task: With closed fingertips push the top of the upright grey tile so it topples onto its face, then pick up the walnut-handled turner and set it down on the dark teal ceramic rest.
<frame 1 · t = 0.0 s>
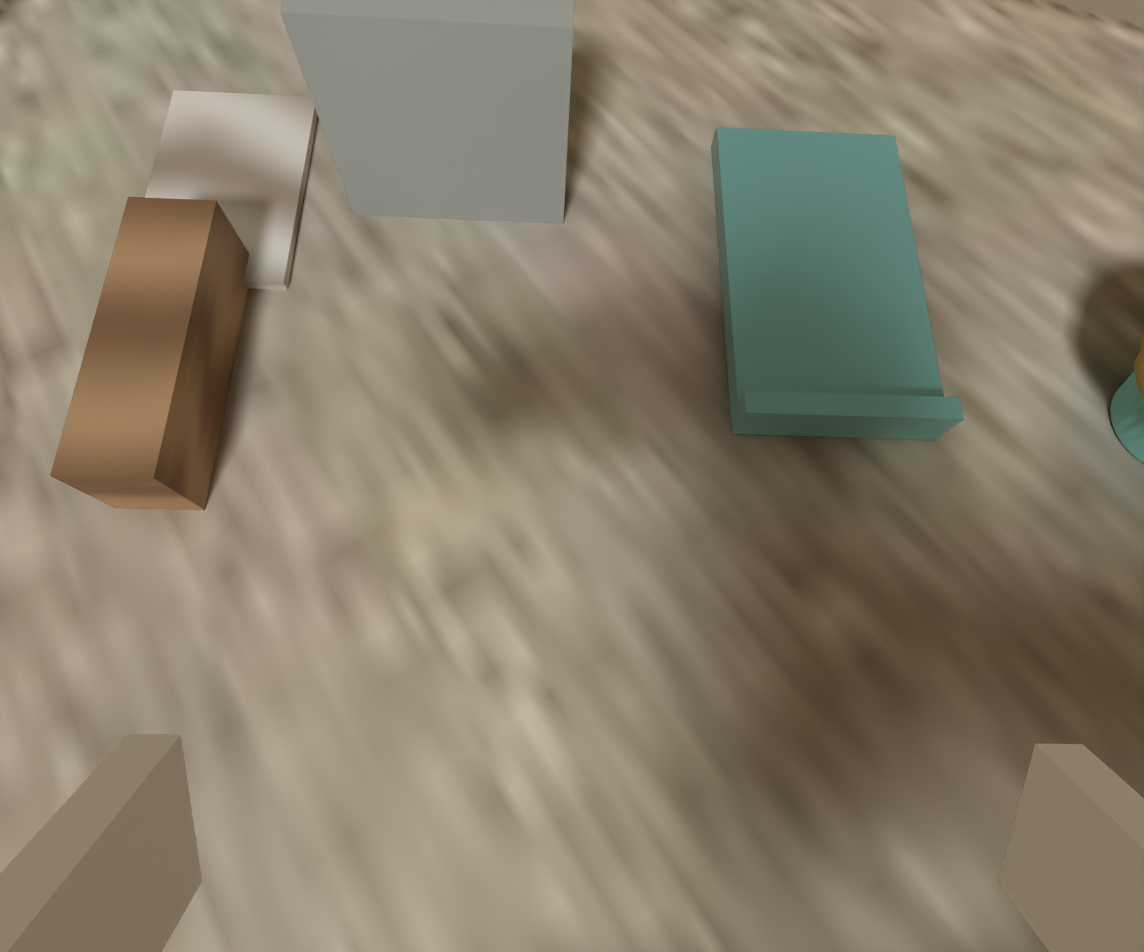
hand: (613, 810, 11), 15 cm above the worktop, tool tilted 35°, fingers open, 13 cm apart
rest: (814, 281, 33), on the worktop
tile: (461, 199, 33), on the worktop
turner: (190, 376, 30), on the worktop
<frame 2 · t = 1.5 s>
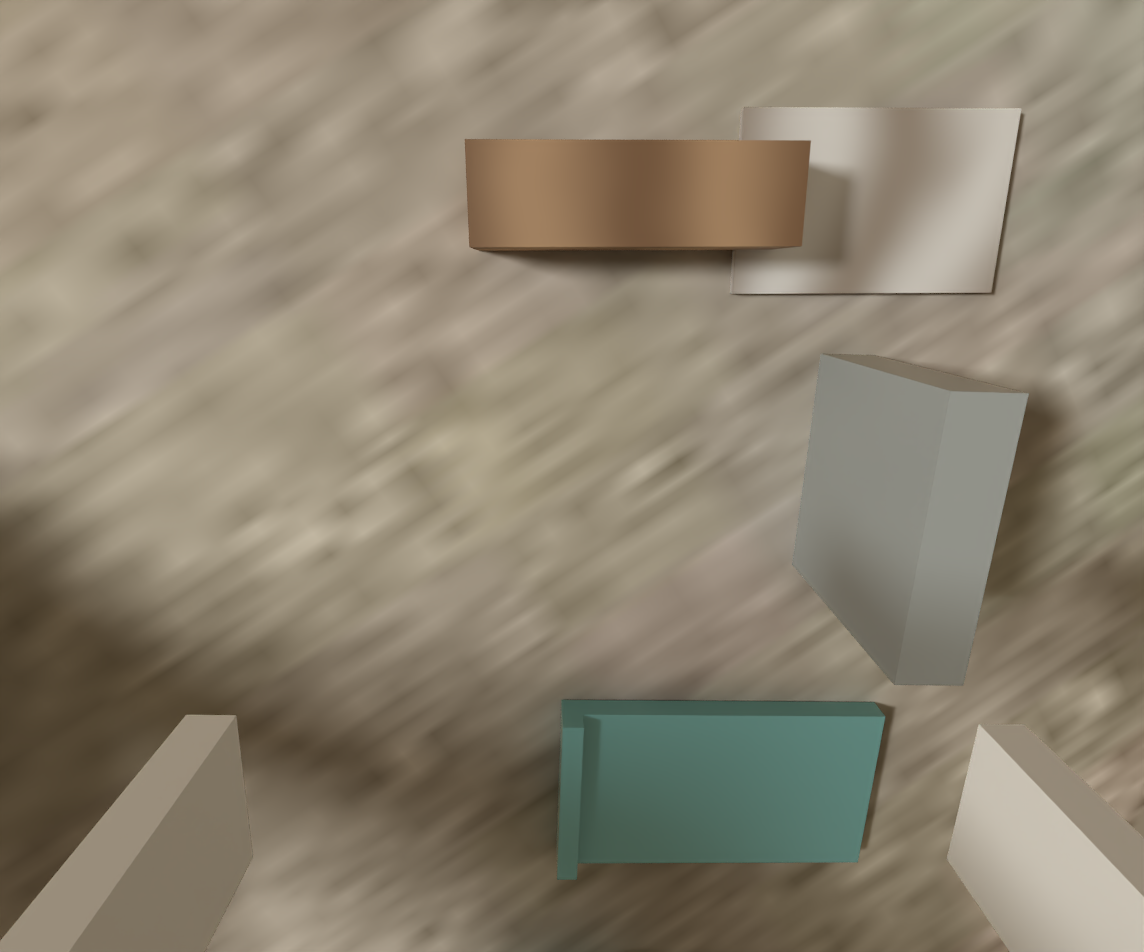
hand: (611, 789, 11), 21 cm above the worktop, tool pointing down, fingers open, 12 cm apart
rest: (711, 775, 36), on the worktop
tile: (831, 464, 31), on the worktop
turner: (625, 205, 28), on the worktop
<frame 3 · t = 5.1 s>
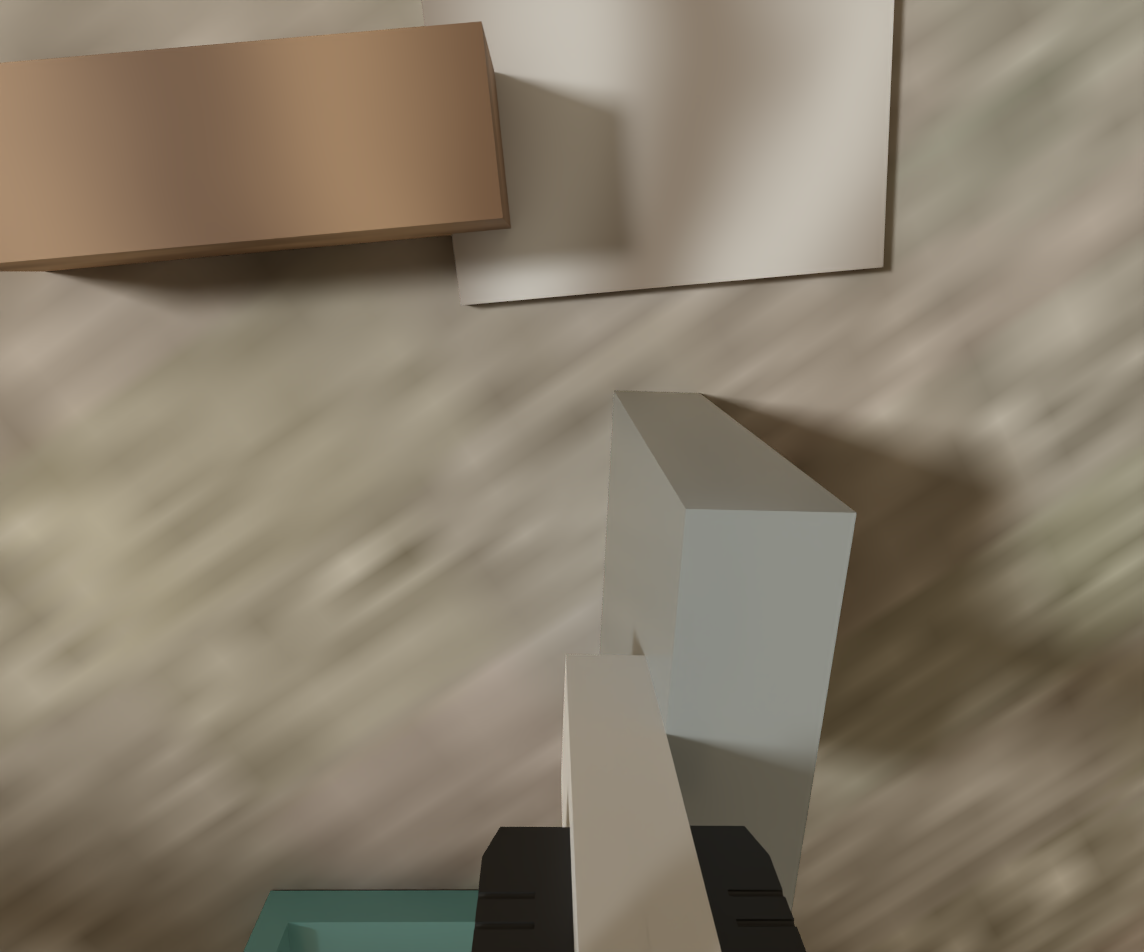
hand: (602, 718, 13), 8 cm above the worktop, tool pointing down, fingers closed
tile: (644, 558, 20), on the worktop, touching gripper
turner: (266, 177, 17), on the worktop
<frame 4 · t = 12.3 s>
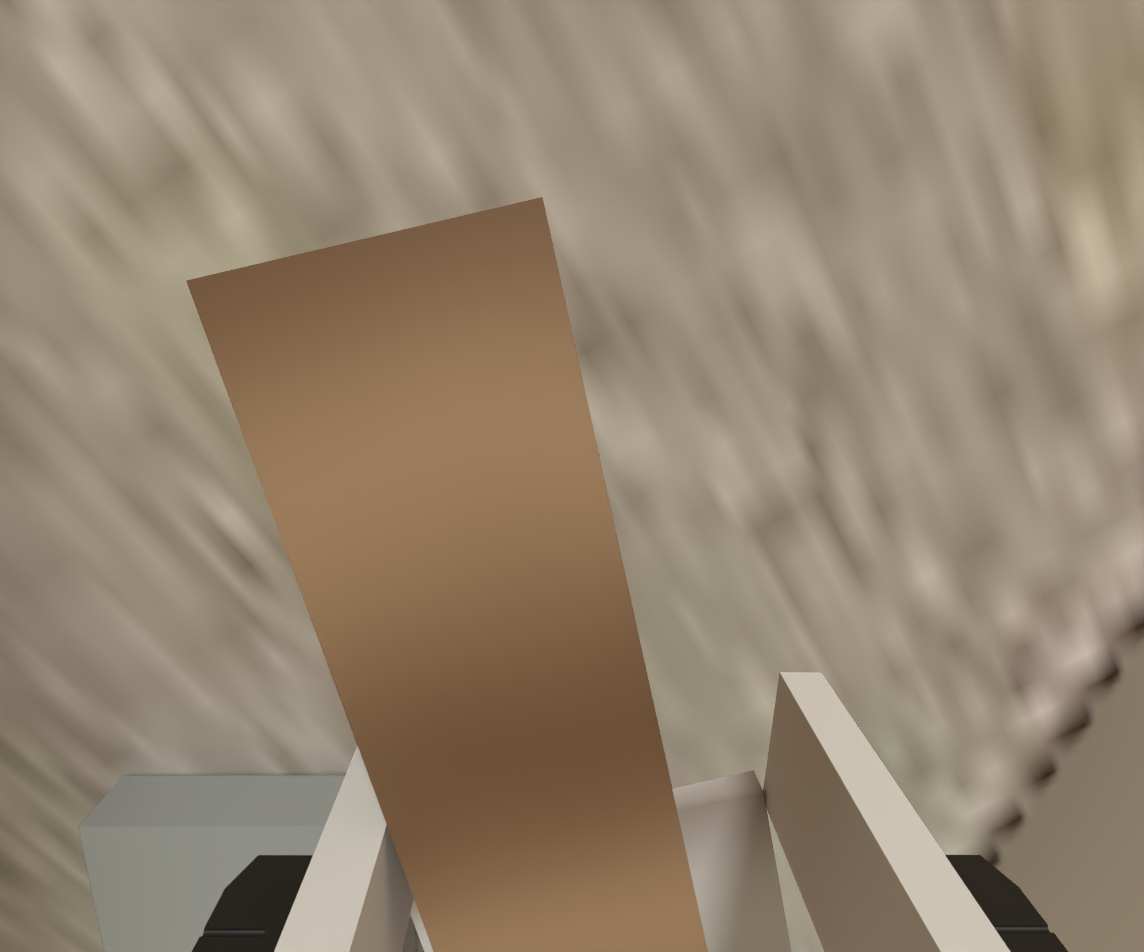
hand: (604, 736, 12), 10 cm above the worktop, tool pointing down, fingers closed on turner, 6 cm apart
tile: (251, 799, 23), point 1 cm above the worktop, tilted 90°
turner: (521, 604, 12), point 10 cm above the worktop, touching gripper
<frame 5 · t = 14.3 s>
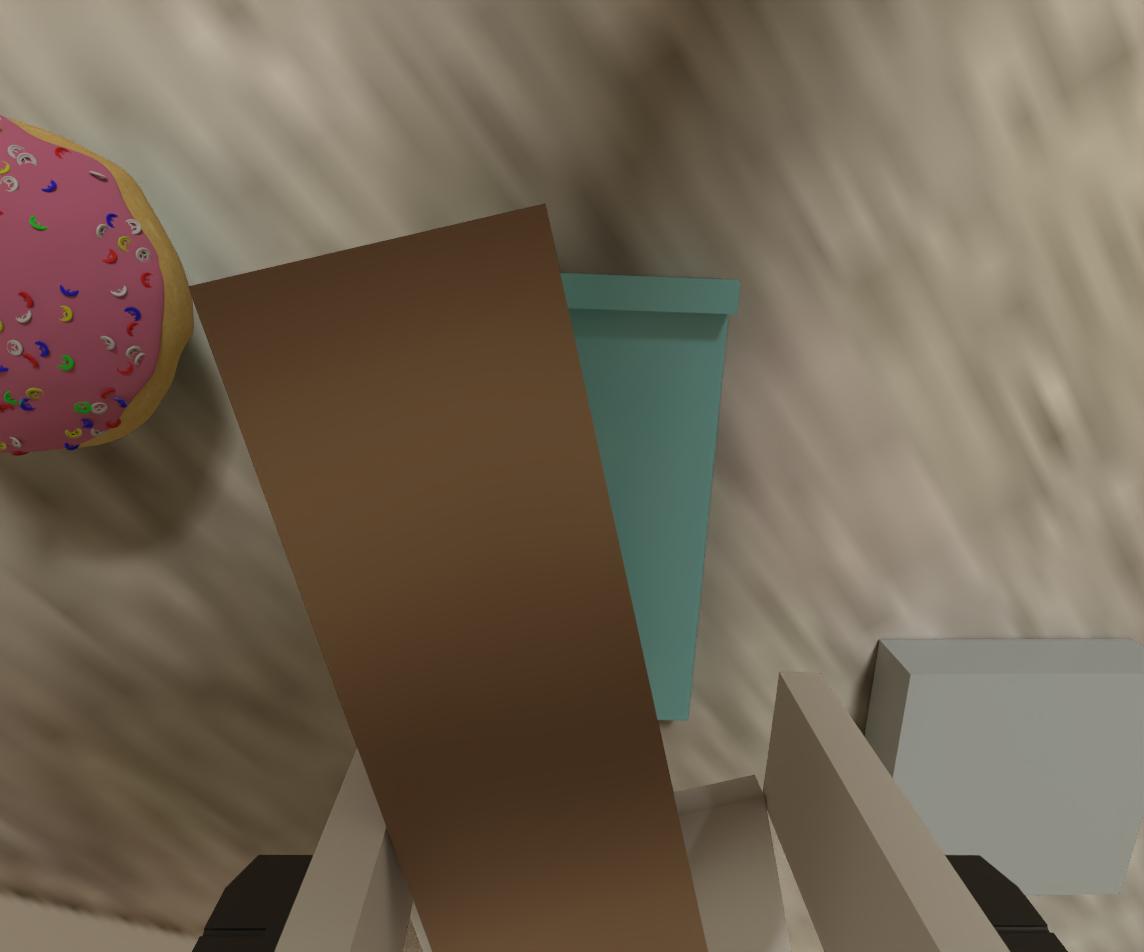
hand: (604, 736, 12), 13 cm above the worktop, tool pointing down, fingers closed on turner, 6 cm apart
rest: (576, 506, 25), on the worktop
tile: (1027, 655, 25), point 1 cm above the worktop, tilted 90°
cupcake: (121, 287, 22), on the worktop
turner: (522, 608, 12), point 12 cm above the worktop, touching gripper
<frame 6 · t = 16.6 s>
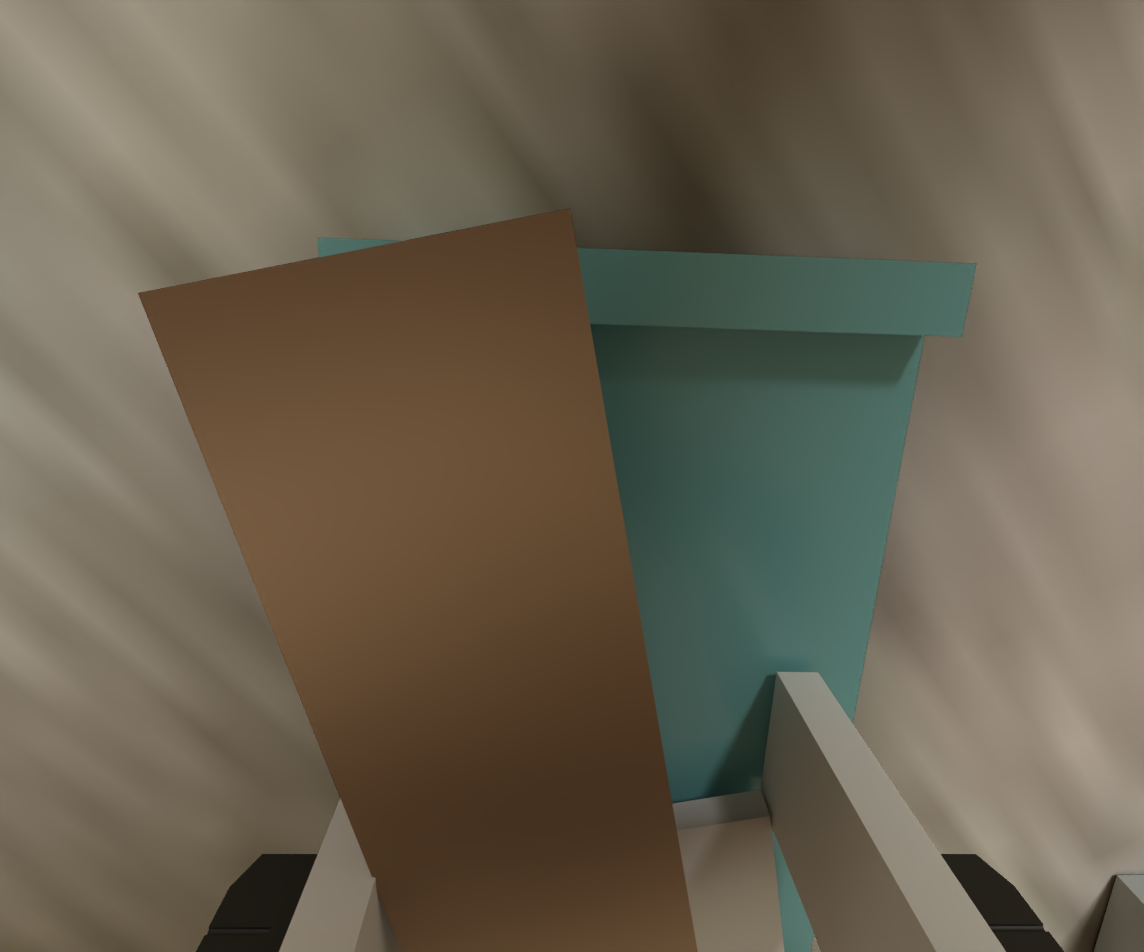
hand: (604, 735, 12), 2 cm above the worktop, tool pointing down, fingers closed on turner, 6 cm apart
rest: (609, 671, 14), on the worktop
turner: (526, 616, 11), point 2 cm above the worktop, touching gripper, rest
when the fingers open (2 cm above the worktop, at t = 16.7 s): turner stays where it is, resting on rest.
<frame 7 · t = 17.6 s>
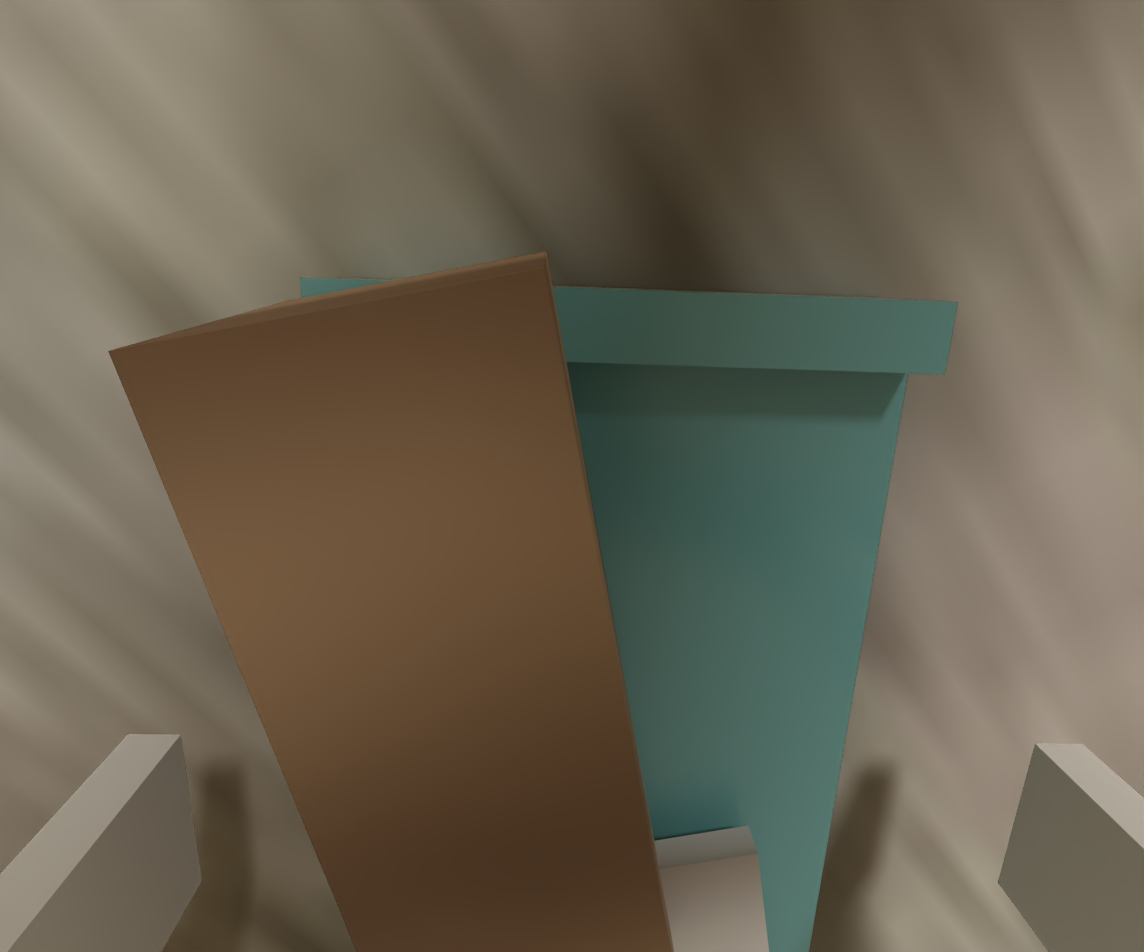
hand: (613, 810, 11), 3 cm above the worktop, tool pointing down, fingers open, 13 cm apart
rest: (597, 704, 14), on the worktop
turner: (510, 652, 11), point 2 cm above the worktop, touching rest
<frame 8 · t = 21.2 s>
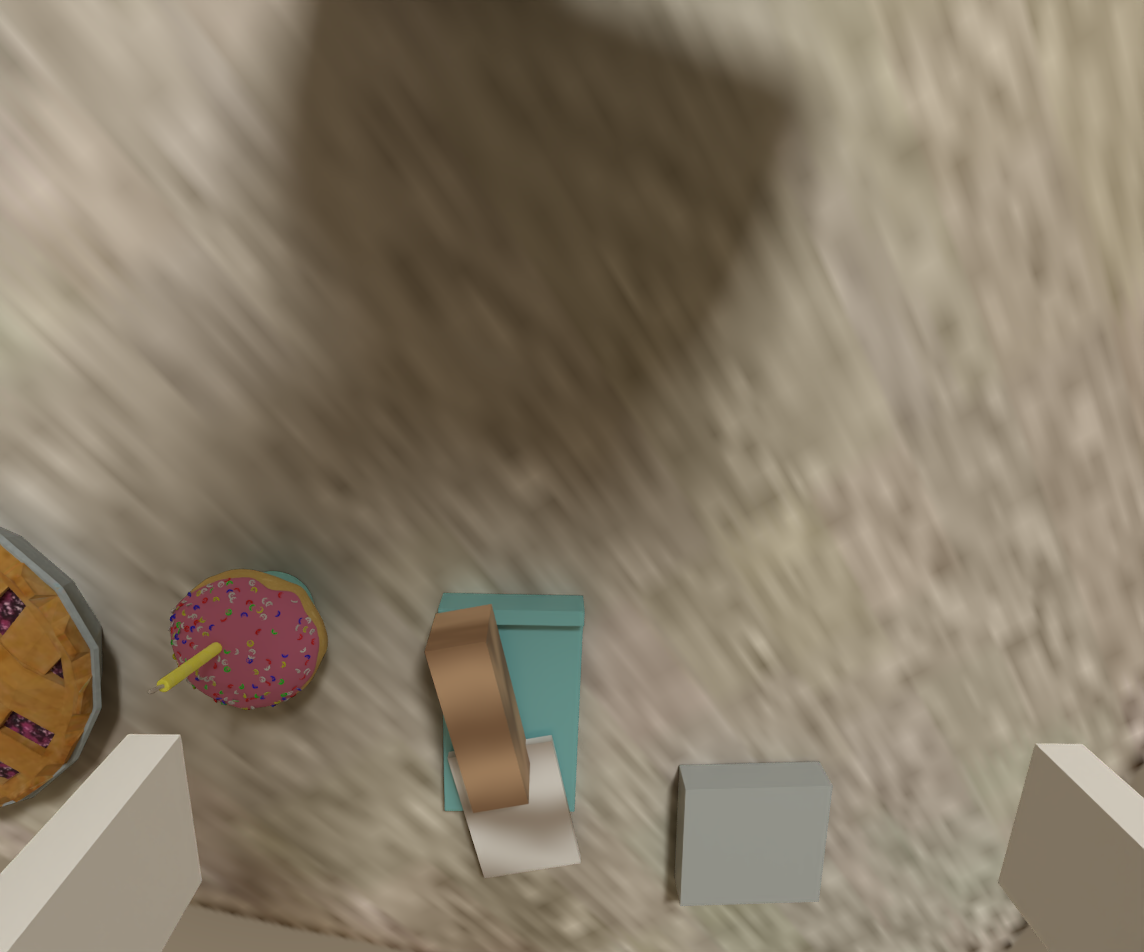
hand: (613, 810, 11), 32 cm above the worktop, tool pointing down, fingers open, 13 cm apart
rest: (512, 701, 47), on the worktop
tile: (754, 775, 47), point 1 cm above the worktop, tilted 90°
cupcake: (280, 602, 44), on the worktop
turner: (485, 688, 44), point 2 cm above the worktop, touching rest
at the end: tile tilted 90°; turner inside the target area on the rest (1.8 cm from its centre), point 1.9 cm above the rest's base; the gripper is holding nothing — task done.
